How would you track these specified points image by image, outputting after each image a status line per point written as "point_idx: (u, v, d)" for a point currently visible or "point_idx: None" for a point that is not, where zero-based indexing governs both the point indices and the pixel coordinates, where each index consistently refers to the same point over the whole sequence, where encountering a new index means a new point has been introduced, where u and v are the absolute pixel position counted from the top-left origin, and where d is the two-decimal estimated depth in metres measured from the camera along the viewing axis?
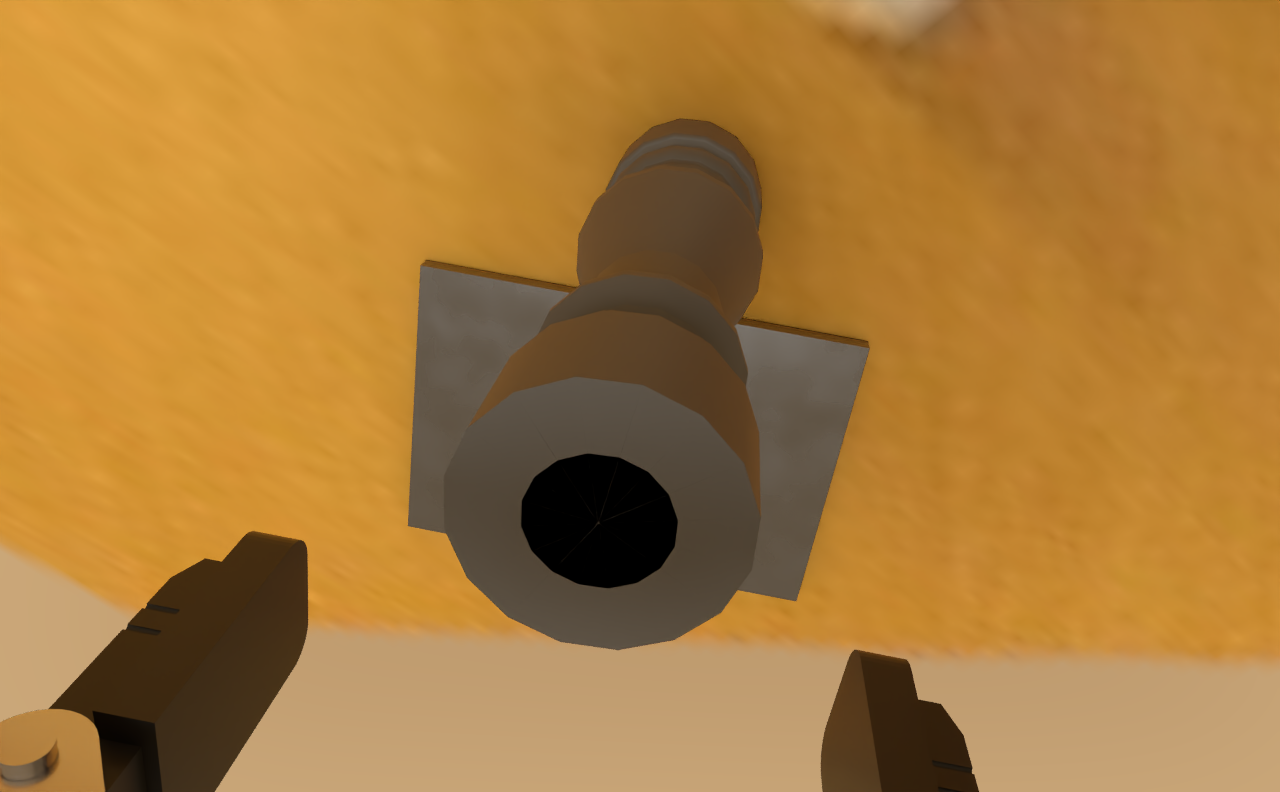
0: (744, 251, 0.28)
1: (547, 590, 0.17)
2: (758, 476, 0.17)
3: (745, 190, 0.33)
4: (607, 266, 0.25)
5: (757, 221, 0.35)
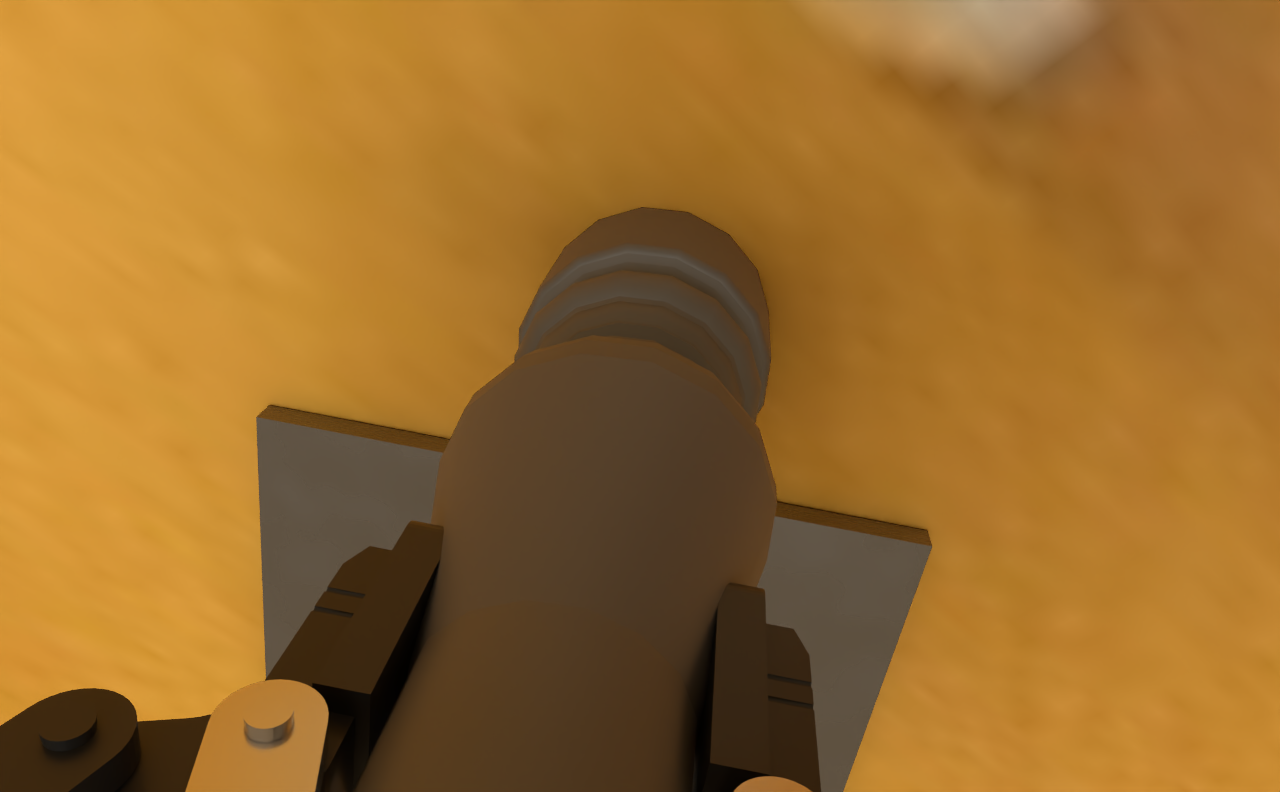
0: (741, 528, 0.14)
1: None
2: None
3: (744, 346, 0.20)
4: (443, 626, 0.11)
5: (763, 381, 0.22)
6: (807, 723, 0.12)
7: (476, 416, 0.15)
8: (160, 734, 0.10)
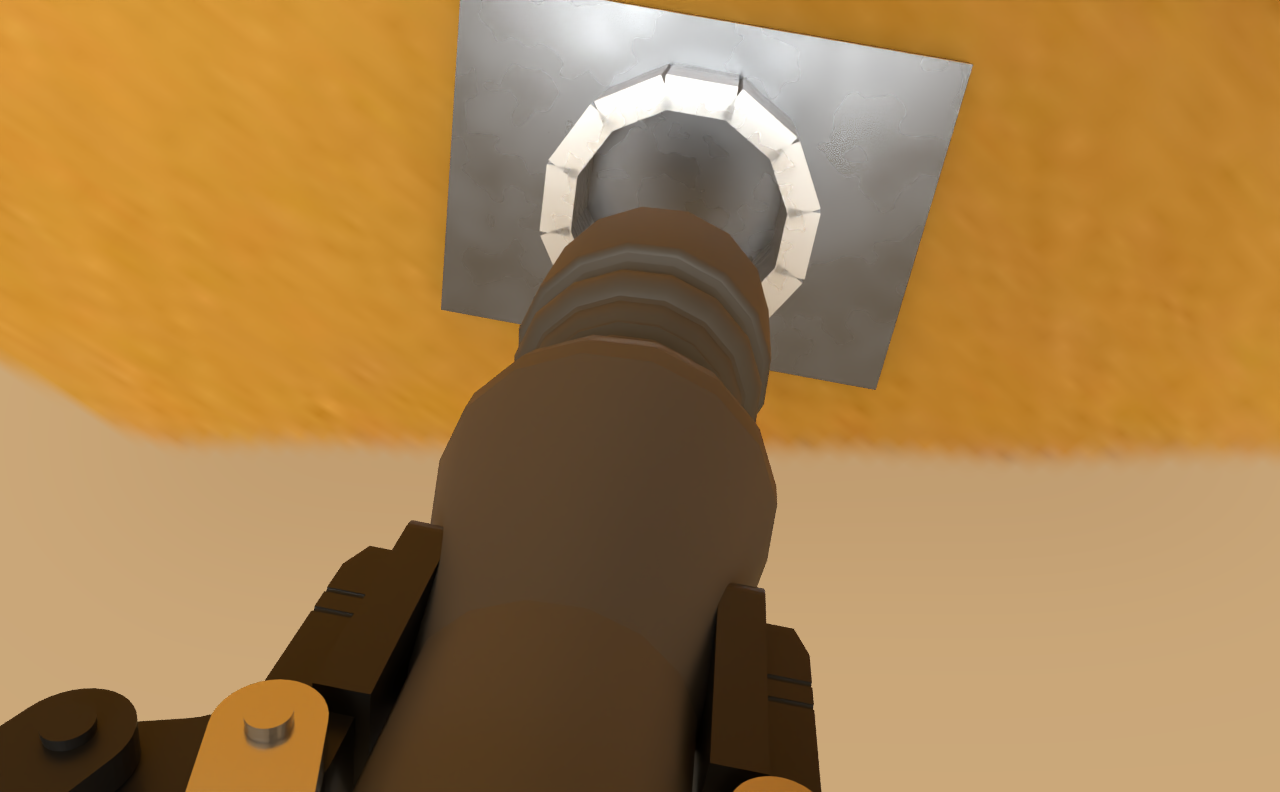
0: (741, 528, 0.14)
1: None
2: None
3: (744, 345, 0.20)
4: (443, 626, 0.11)
5: (763, 380, 0.22)
6: (807, 723, 0.12)
7: (476, 416, 0.15)
8: (160, 734, 0.10)
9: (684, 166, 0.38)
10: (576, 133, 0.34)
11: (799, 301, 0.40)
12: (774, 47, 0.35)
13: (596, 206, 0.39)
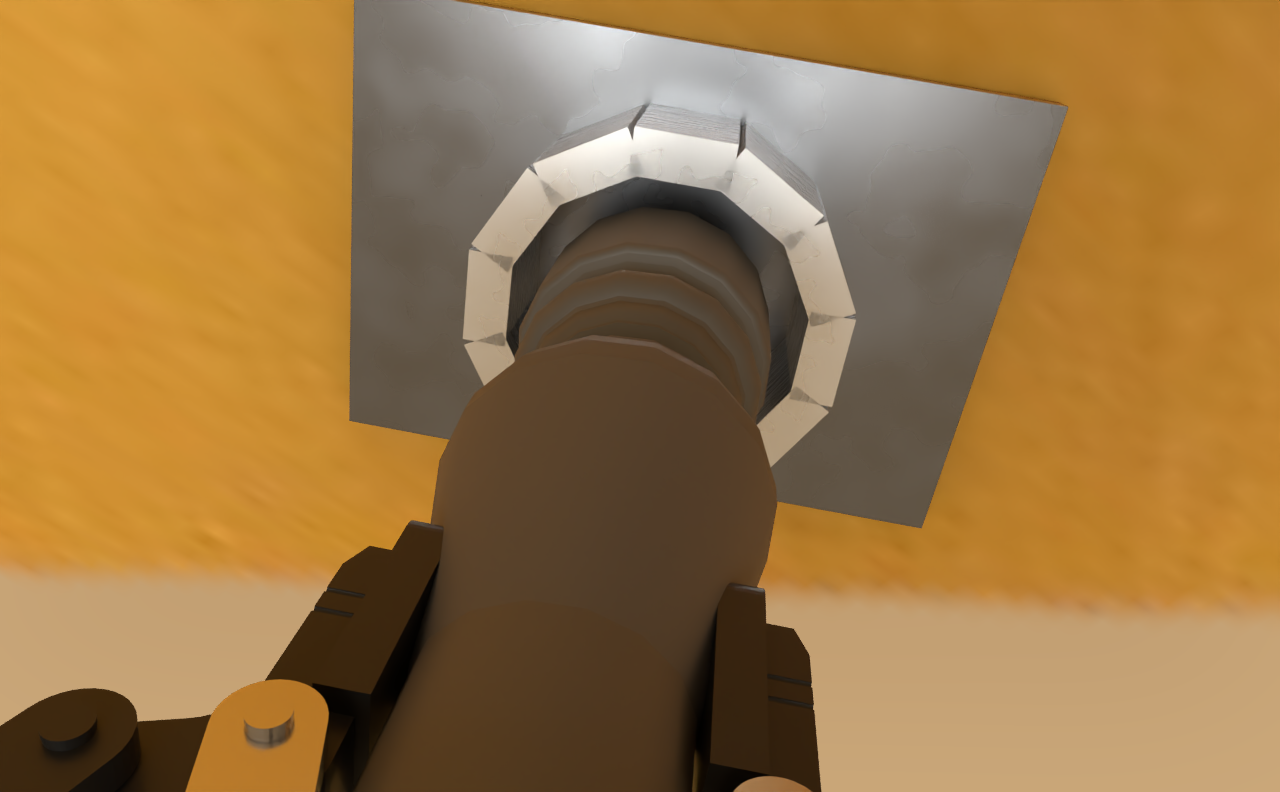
0: (741, 528, 0.14)
1: None
2: None
3: (744, 345, 0.20)
4: (443, 626, 0.11)
5: (763, 380, 0.22)
6: (807, 723, 0.12)
7: (476, 416, 0.15)
8: (159, 734, 0.10)
9: None
10: (509, 208, 0.24)
11: None
12: (789, 82, 0.25)
13: None
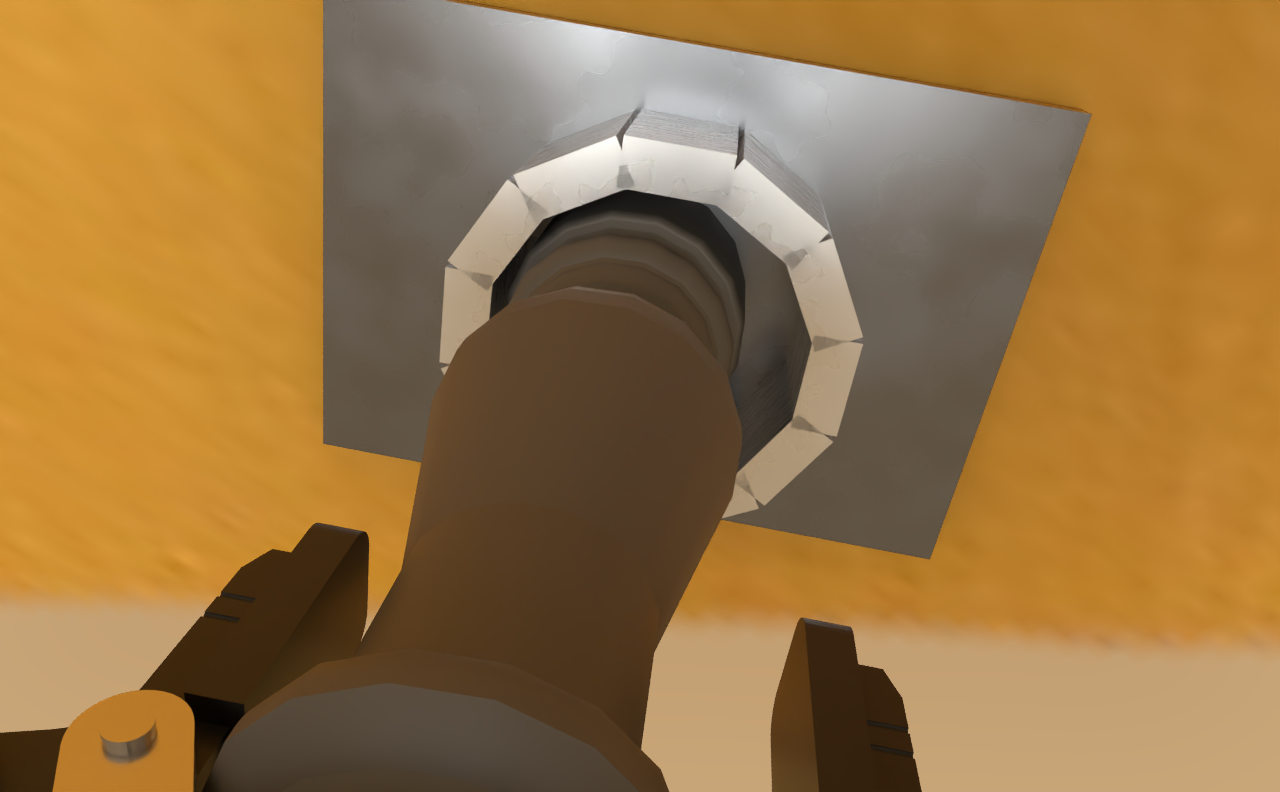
0: (706, 457, 0.16)
1: None
2: None
3: (718, 306, 0.21)
4: (434, 525, 0.13)
5: (737, 343, 0.23)
6: (910, 773, 0.11)
7: (466, 355, 0.17)
8: (20, 746, 0.10)
9: None
10: (489, 223, 0.22)
11: None
12: (791, 87, 0.24)
13: None
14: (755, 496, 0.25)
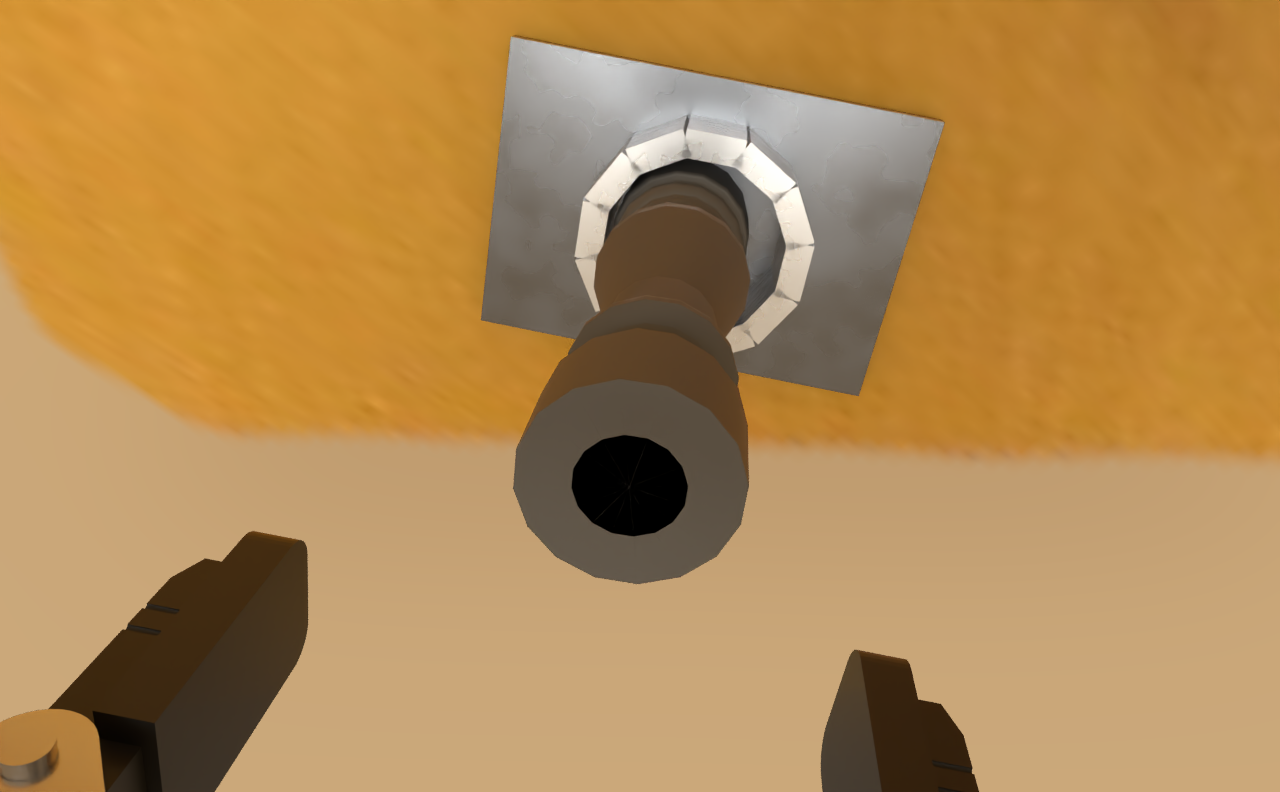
0: (735, 278, 0.33)
1: (587, 537, 0.23)
2: (747, 456, 0.23)
3: (736, 222, 0.39)
4: (625, 288, 0.31)
5: (744, 247, 0.41)
6: None
7: (619, 232, 0.34)
8: None
9: None
10: (609, 176, 0.40)
11: (794, 318, 0.46)
12: (777, 103, 0.42)
13: None
14: (753, 339, 0.42)
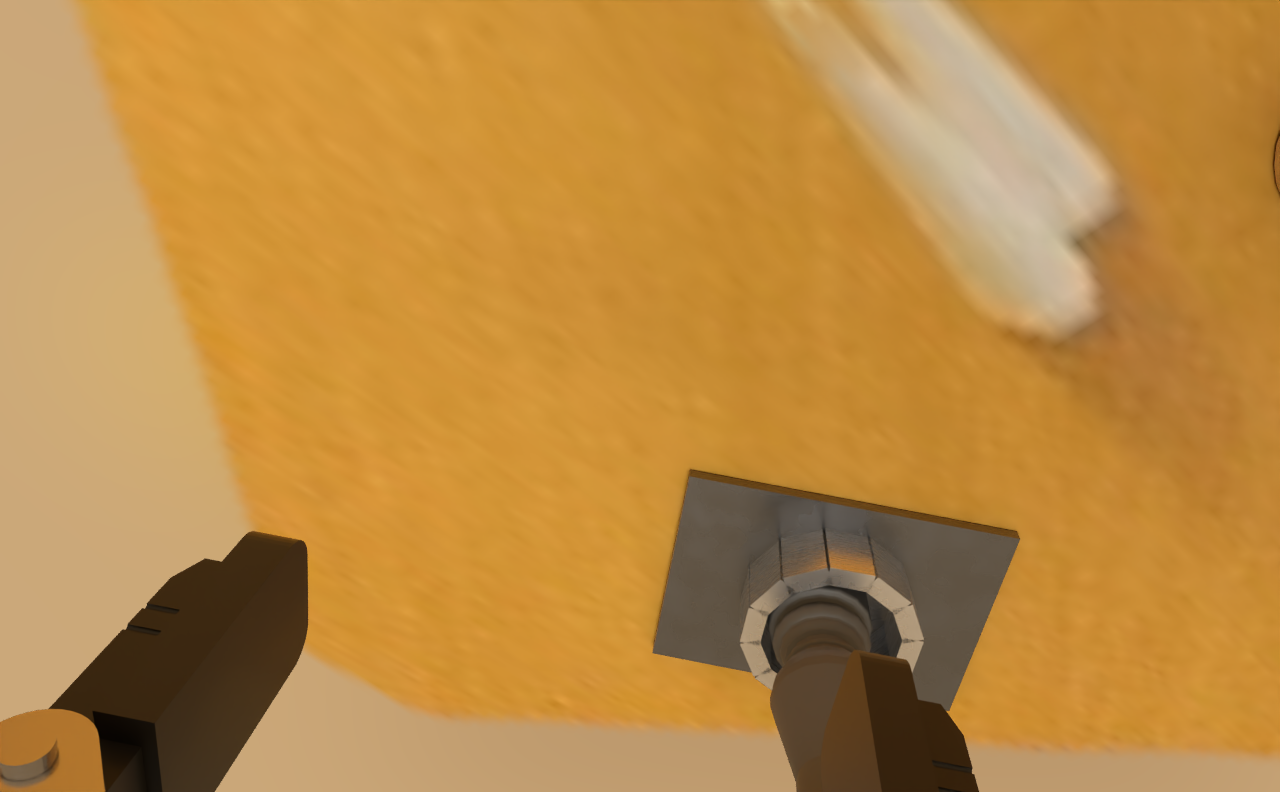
0: None
1: None
2: None
3: (866, 632, 0.53)
4: (812, 758, 0.44)
5: (869, 636, 0.55)
6: None
7: (793, 681, 0.48)
8: None
9: None
10: (770, 593, 0.53)
11: None
12: (891, 523, 0.55)
13: None
14: None
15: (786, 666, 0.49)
